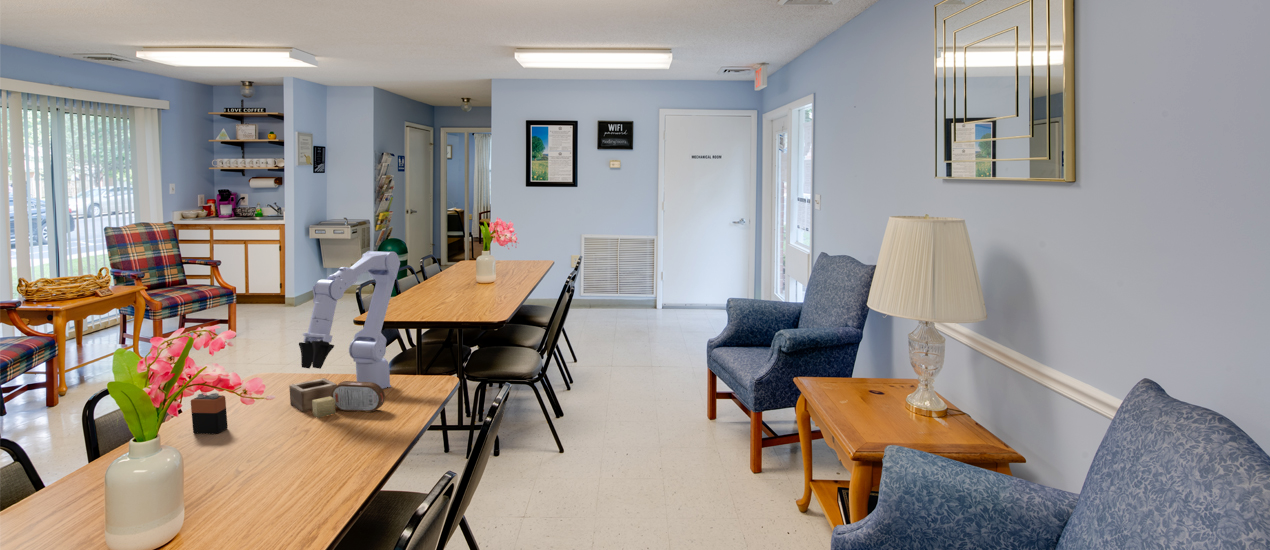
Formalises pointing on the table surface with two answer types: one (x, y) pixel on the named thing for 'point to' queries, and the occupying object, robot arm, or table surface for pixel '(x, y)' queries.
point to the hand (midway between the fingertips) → (311, 368)
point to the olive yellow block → (323, 406)
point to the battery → (209, 413)
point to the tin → (358, 396)
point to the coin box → (309, 393)
